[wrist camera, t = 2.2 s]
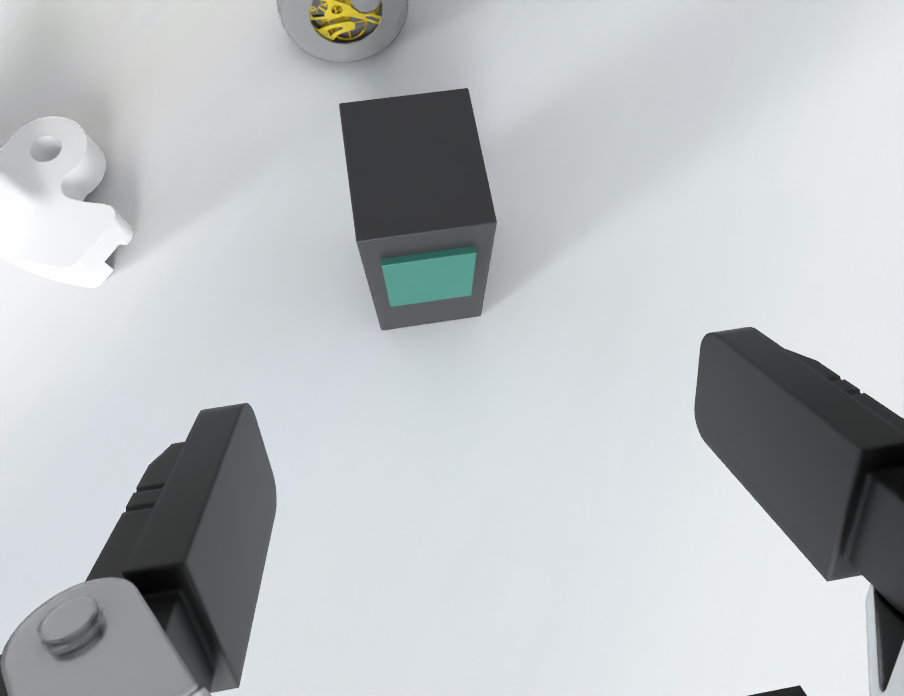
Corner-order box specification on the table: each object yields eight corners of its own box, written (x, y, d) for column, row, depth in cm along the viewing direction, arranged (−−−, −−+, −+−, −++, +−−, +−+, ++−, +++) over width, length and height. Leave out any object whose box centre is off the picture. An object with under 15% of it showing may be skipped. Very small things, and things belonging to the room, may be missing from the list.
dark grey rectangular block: (482, 321, 29) (499, 230, 21) (382, 336, 29) (357, 249, 20) (461, 212, 31) (468, 87, 23) (367, 225, 31) (338, 102, 22)
